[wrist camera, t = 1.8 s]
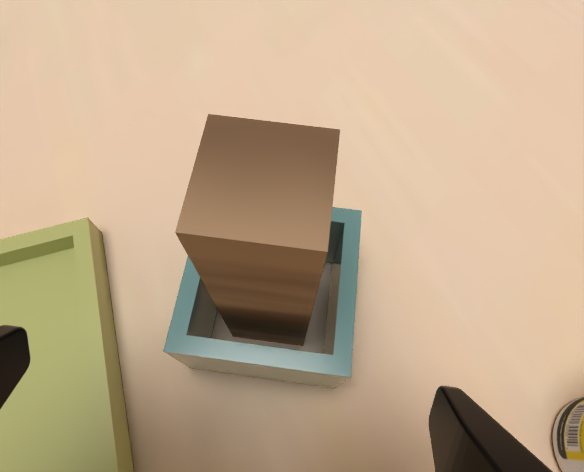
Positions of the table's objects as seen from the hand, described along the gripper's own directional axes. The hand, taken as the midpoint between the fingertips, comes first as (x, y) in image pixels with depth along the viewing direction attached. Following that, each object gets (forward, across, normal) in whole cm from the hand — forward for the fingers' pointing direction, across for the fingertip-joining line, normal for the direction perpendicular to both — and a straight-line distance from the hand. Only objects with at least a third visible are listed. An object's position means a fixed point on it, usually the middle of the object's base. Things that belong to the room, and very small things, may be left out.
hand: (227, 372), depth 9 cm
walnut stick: (+11, 0, +5) cm, 12 cm away
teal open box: (+11, 0, +5) cm, 12 cm away
